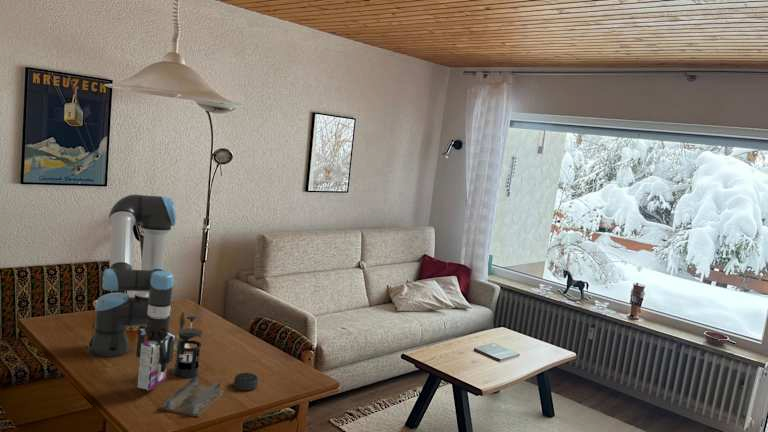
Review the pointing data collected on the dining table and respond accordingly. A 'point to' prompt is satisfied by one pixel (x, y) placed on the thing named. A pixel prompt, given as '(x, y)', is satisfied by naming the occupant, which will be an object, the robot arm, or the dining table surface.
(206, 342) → the dining table surface
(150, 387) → the candy bar box
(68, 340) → the dining table surface
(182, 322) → the hand bell
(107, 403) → the dining table surface
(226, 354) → the dining table surface
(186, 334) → the french press
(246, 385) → the smart speaker
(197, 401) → the sliding track
